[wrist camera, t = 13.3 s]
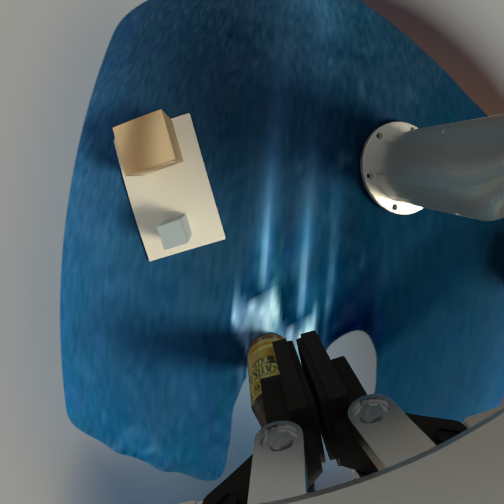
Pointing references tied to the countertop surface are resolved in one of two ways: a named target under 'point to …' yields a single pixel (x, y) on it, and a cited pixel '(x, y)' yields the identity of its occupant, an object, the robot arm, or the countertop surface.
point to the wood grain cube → (147, 144)
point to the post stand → (175, 200)
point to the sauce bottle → (261, 371)
